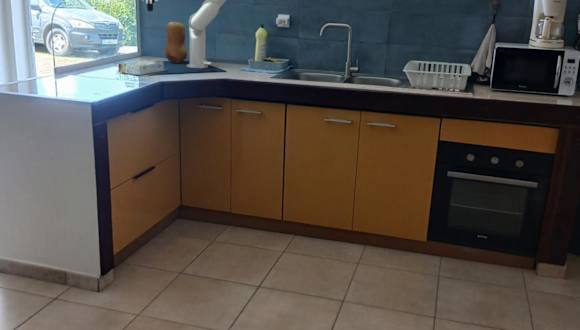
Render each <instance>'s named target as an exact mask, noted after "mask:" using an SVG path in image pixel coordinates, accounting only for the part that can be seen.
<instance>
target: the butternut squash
mask: <svg viewBox="0 0 580 330" xmlns="http://www.w3.org/2000/svg"><path fill="white" fill-rule="evenodd" d="M185 40H186V27H185V25H184V24H183V23H181V22H178V21H177V22H176V21H170V22H168V23H167V25H166V44H165V45H166V46H165V48H164V55H165V58H166V59H167V60H168V61H169V62H172V63H174V64H177V63H179V64H180V63H183V62H185V61H186V59H187V57H188V49H187V46H186V45H185V44H186V43H185Z"/></svg>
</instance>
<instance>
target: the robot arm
mask: <svg viewBox="0 0 580 330" xmlns="http://www.w3.org/2000/svg"><path fill="white" fill-rule="evenodd" d="M142 1H143V2H145V4H146V9H147V12H153V11H154V3H155V2H158V1H160V0H142ZM226 1H227V0H204V1H203V2H202V4H201V6H200V8H199V9H198V10H196V12H195V13H192V14H191V15H190V16H189V19H188V39H189V40H188V41H189V43H188V45H189V49H188V50H189V52H188V53H189V55H188V56H189V61H188V64H186V68H191V69H207V68H209V66H212V63H213V62H212V61H208V59H206V28H207V26H208V25H209V24H210V23H211V22H212V21H213V19H215V17H216V16H218V13H219V11H220V8H221V7H222V6H223V4H224V3H226Z"/></svg>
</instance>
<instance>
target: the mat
mask: <svg viewBox="0 0 580 330" xmlns="http://www.w3.org/2000/svg"><path fill="white" fill-rule="evenodd" d="M166 70H167V69H164V72H167V71H166ZM160 72H161V73H162V72H163V71H159V72H154V73H149V74H144V75H136V74H129V73H125V75H126V76H128V75H129V76H139V77H140V76H141V77H151V76H154V75H157V74H160ZM164 72H163V73H164Z"/></svg>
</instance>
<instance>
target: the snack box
mask: <svg viewBox="0 0 580 330" xmlns="http://www.w3.org/2000/svg"><path fill="white" fill-rule="evenodd" d="M159 71H164V61H160V60H150V59H136V60H130V61H125V62H119V63H118V72H119V73H123V74H126V73H129V74H136V75H135V76H138V75H144V74H149V73H154V72H159ZM164 72H165V71H164Z"/></svg>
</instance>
